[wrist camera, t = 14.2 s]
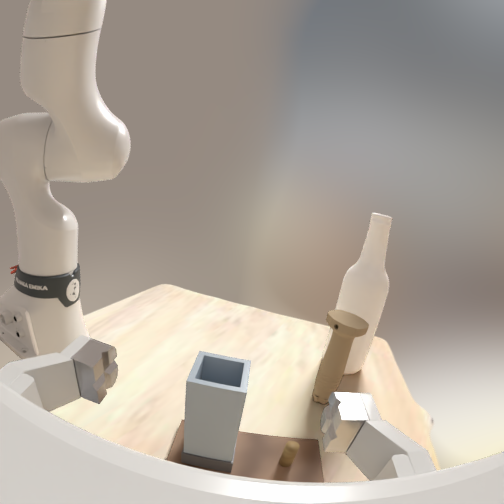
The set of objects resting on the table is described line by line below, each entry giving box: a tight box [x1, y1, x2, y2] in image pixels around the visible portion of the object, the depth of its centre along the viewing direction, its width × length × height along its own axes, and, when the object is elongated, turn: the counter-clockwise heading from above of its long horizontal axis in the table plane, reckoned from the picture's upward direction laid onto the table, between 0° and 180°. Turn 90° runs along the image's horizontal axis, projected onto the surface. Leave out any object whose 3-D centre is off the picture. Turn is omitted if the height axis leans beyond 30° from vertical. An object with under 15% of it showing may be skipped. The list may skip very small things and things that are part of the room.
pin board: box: [167, 420, 324, 483], centre depth 28 cm, size 18×9×4 cm, turn 86°
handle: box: [312, 310, 369, 404], centre depth 41 cm, size 5×6×15 cm
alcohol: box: [322, 213, 393, 375], centre depth 51 cm, size 9×9×30 cm
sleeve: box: [181, 351, 251, 473], centre depth 27 cm, size 6×6×13 cm
